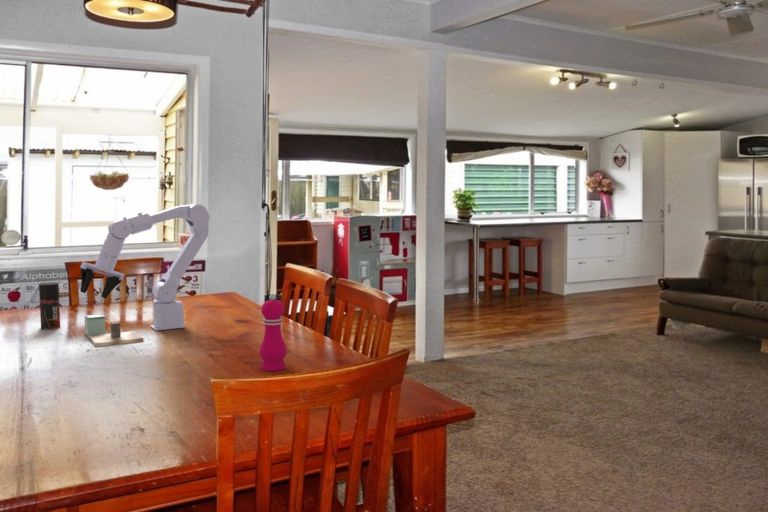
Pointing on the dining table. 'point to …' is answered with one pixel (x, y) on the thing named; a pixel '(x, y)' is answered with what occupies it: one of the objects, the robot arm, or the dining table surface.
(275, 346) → the pepper mill
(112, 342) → the board
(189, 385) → the dining table surface
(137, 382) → the dining table surface
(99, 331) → the mint green grooved cube
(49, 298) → the deodorant
